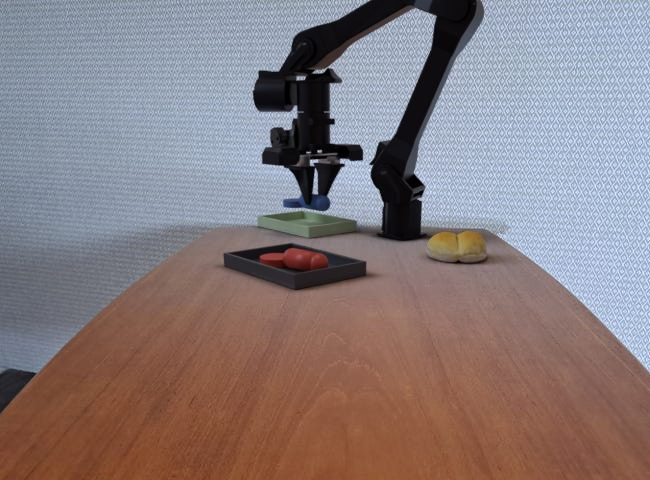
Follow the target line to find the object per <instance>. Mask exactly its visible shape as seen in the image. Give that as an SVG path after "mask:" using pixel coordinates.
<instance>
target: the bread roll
mask: <svg viewBox="0 0 650 480" xmlns="http://www.w3.org/2000/svg"><path fill="white" fill-rule="evenodd" d="M487 247H488V243H487V241H486V240H485V238H484V237H483V235H481V234H479V233H478V232H475V231H472V230H465V231H463V232H460V233H458V234H457V233H454V232H451V231H441V232H438V233H435V234H434V235H433V236H432V237H431V238H430V239H429V240H428V241H427V244H426V254H427V256H428V257H430V258H431V259H434V260H437V261H439V262H443V263H456V262H458V261H459V262H461V263H463V264H464V263H466V264H468V263H479V262H481V261H484V260H485V259H486V258H487V254H488V251H487Z"/></svg>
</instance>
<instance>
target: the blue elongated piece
mask: <svg viewBox="0 0 650 480" xmlns="http://www.w3.org/2000/svg"><path fill="white" fill-rule="evenodd" d="M331 202H332V201H331V199H330V198H329V197H328V195H327V196H324V195H318V193H313V194H312V200H311V205H306V204H305V202H304V199H303V196H302V194H300V195H299V198H297V197H295V198H293V197H291V198H285V199H282V207H283V208H286V209H307V210H312V211H317V212H326V211H328V210H329V209H330V207H331V204H332V203H331Z"/></svg>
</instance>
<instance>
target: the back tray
mask: <svg viewBox="0 0 650 480" xmlns="http://www.w3.org/2000/svg"><path fill="white" fill-rule="evenodd" d="M256 218H257V219H256V220H257V221H256V222H257V227H261V228H264V229H269V230H273V231H277V232H281V233H286V234H290V235H294V236H300V237H303V238H308V239H310V238H311V239H312V238H319V237H325V236H332V235H338V234H346V233H352V232H357V230H358V229H357V228H358V226H357V225H358V220H357V219H353V218H352V219H350V218H346V217H342V216H336V215H330V214H325V213H324V214H323V213H319V212H314V211H309V210H296V211H295V210H294V211H288V212H287V211H285V212H278V213H269V214H263V215H261V214H260V215H257V216H256Z"/></svg>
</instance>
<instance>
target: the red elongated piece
mask: <svg viewBox="0 0 650 480" xmlns="http://www.w3.org/2000/svg"><path fill="white" fill-rule="evenodd" d="M260 263H262V264H265V265H269V266H272V267H275V268H285V267H288V268H291V269H295V270H300V271H304V272H306V271H312V270H317V269H323V268H328V265H329V263H328V259H327V257H326V256H325V255H323V254H321V253H316V252H311V251H306V250H301V249H296V248H290V249H288V250H286V251H285V253H270V254H264V255H261V256H260Z"/></svg>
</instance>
